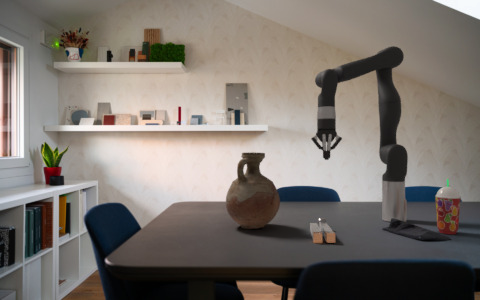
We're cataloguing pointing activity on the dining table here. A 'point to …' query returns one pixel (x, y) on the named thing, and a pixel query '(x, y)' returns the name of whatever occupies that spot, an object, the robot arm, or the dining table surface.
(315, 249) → the dining table surface
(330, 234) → the tong arm
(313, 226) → the base
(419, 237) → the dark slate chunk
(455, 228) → the smoothie
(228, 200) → the jug
